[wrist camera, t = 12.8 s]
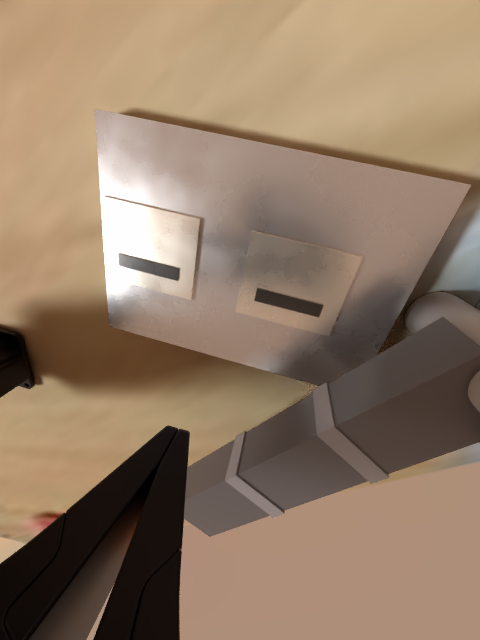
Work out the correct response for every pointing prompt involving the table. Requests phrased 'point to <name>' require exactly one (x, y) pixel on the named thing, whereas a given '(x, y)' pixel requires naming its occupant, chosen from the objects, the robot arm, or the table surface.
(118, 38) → the table surface
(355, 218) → the panel
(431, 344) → the bar
